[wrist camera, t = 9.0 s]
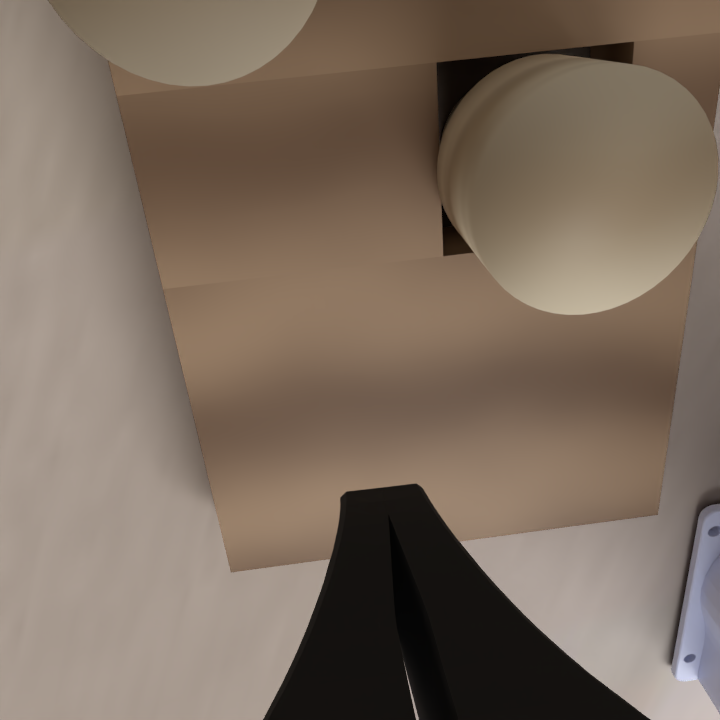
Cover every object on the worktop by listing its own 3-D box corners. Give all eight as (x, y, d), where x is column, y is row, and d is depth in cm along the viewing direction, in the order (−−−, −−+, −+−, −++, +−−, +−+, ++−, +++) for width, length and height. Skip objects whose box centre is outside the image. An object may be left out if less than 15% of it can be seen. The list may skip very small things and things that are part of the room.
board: (624, 469, 24) (728, 609, 19) (236, 520, 24) (219, 681, 18) (704, -251, 15) (959, -418, 9) (75, -197, 15) (-66, -337, 9)
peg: (577, 221, 20) (693, 305, 14) (416, 233, 20) (469, 324, 14) (595, 43, 18) (741, 55, 12) (414, 53, 17) (476, 71, 12)
